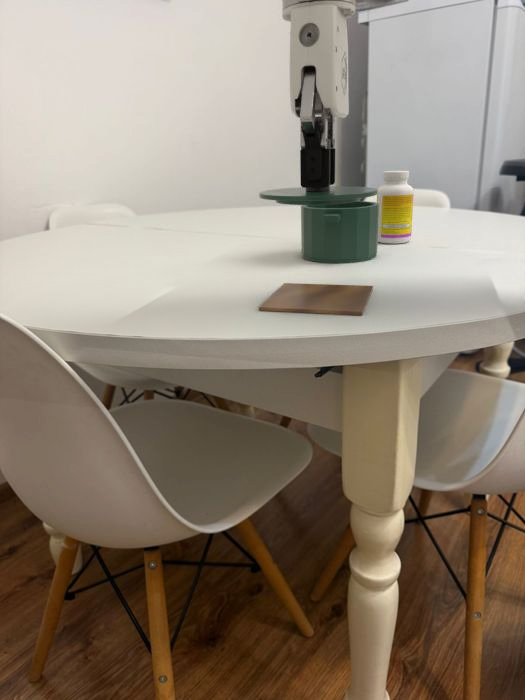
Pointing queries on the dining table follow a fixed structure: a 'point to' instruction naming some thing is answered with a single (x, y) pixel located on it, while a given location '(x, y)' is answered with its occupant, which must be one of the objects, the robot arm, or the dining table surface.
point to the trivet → (319, 299)
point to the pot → (339, 232)
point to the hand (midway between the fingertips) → (318, 184)
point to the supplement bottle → (395, 208)
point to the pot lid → (318, 194)
